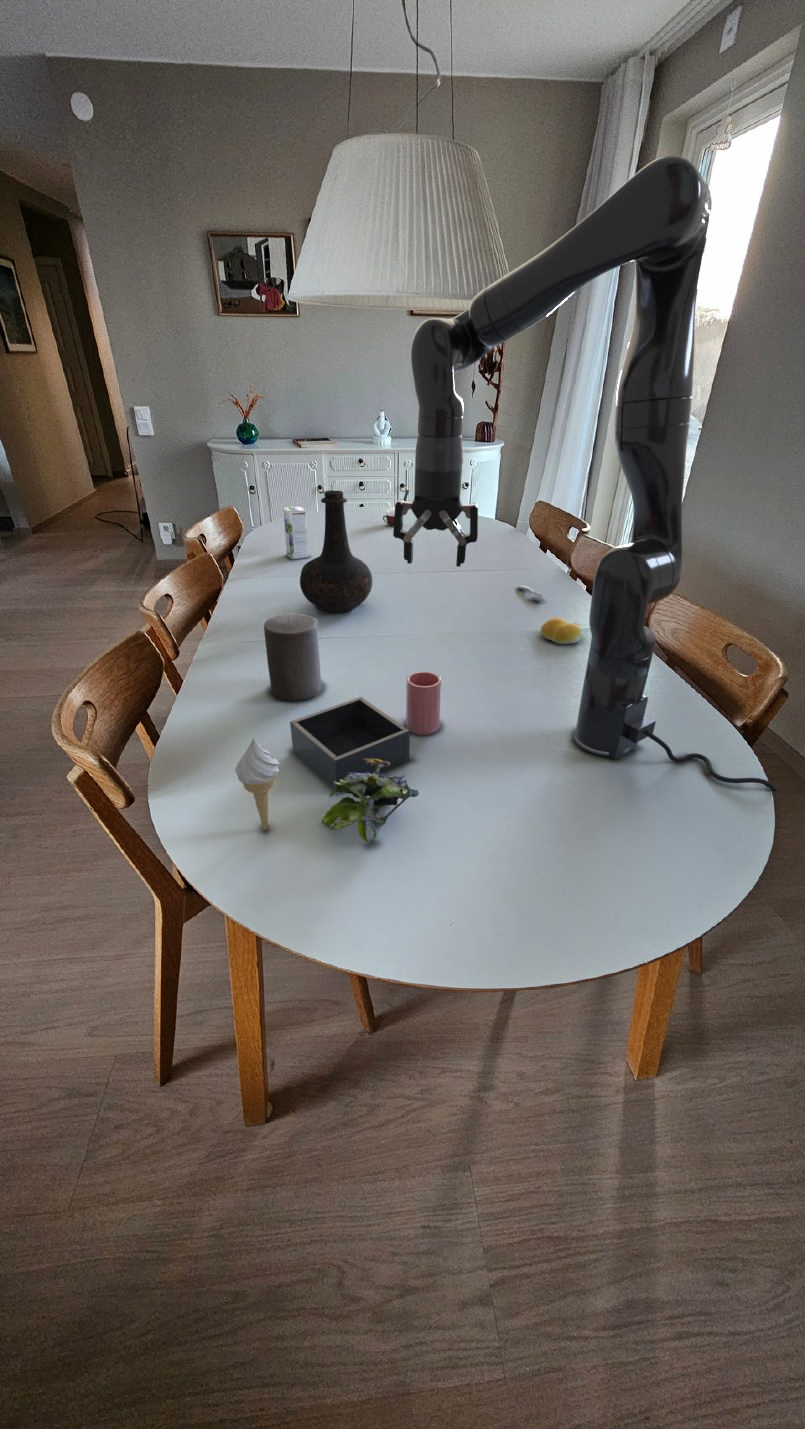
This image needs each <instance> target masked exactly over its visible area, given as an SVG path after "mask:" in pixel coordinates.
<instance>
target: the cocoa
mask: <svg viewBox="0 0 805 1429" xmlns="http://www.w3.org/2000/svg"><path fill="white" fill-rule="evenodd" d="M409 493H410V490H409V489H406V491H405V494H404V496H403V499H402V500H403V501H405V502H407V498H408V495H409ZM394 515H395V506H392V507H390V508H388V509H386V511H385V515H383V516H382V520H383V522H384V523H385V524H387V525H389V526H390V527H394Z"/></svg>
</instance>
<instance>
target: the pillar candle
mask: <svg viewBox="0 0 805 1429" xmlns="http://www.w3.org/2000/svg"><path fill="white" fill-rule="evenodd" d="M263 632H264V641H265V642H264V643H265V648H266V649H265V650H266V651H265V652H266V660H267V661H266V662H267V669H268V675H269V682H270V689H271V690H270V693H271V695H272V696H273V697H274V698H277V699H278V700H281V701H283V702H300V701H304V700H305V701H306V700H309V699H312V698H314V697H316V696H318V695H319V694H320V692H321V691H322V675H321V673H322V672H321V660H320V648H319V647H320V646H319V634H318V620H317V619H315V617H312V616H311V615H306V614H302V613H294V612H293V613H292V612H291V613H284V614H278V615H275V616H272V617H269V618H267V619H266V620H265V621H264V623H263Z"/></svg>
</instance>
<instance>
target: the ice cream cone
mask: <svg viewBox="0 0 805 1429" xmlns="http://www.w3.org/2000/svg"><path fill="white" fill-rule="evenodd" d="M278 765H280V762H279V761H278V759H277V758H271V753H270V752H269V751H268V750H267V749H265V748H263V747H262V745H261V744H259V742H258V741H257V740H256V739H255V738H254V737H252V739H251V741H250V743H249V746H248V747H247V749H246V750H245V752H244V754H243V755H242V756H241V758H240V759H239V761H238V762H237V764H236V766H235V768H234V772H235V774H236V776H237V779H238V781H239V782H240V783H241V784H242V785H243V788H244V789H245V791H246V792H249V793H251V794H253V798H254V801H255V806H256V809H257V812H258V816H259V818H260V822H261V827H262V829H263V830H265V831H266V830H268V829H269V803H270V802H269V799H270V798H269V791H270V790H272V789H273V788H274V787H275V785H276V778H277V777H278V776H279V771H280V769H279V767H278Z"/></svg>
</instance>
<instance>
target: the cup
mask: <svg viewBox="0 0 805 1429" xmlns="http://www.w3.org/2000/svg"><path fill="white" fill-rule="evenodd" d="M405 690H406V691H405V692H406V694H405V695H406V699H405V701H406V702H405V703H406V704H405V708H406V709H405V710H406V712H405V725H406V729H408V730H409V731H410V733H411V734H412V733H413V734H415V735H420V736H421V735H422V736H425V735H432V734H434V733H435V732H437V731H438V730H439V729H440V718H441V696H442V695H441V692H442V678H441V676H440V675H439V674H437V673H435V672H431V671H415V672H413V673H409V675H407V676H406V689H405Z"/></svg>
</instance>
